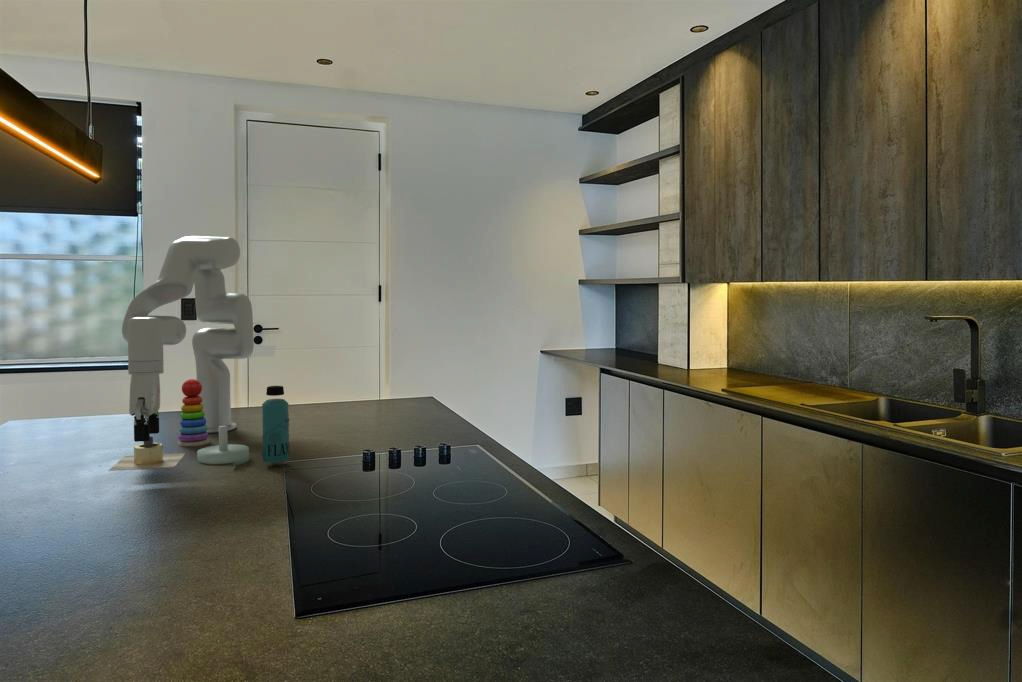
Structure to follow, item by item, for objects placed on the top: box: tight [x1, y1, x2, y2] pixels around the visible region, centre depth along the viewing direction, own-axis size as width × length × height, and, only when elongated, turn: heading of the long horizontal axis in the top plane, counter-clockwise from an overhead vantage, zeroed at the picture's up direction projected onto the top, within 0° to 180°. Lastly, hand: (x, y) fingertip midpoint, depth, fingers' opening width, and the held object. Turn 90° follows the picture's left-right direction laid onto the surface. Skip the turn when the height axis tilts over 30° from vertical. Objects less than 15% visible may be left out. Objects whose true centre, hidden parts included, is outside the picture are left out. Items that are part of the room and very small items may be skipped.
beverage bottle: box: [261, 385, 290, 464], centre depth 162 cm, size 6×7×20 cm
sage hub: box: [196, 426, 250, 467], centre depth 166 cm, size 12×12×9 cm
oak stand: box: [107, 436, 186, 472], centre depth 161 cm, size 14×14×7 cm
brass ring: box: [133, 442, 164, 465], centre depth 161 cm, size 6×6×4 cm
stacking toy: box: [177, 378, 210, 447], centre depth 181 cm, size 8×8×19 cm
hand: (147, 437), depth 160 cm, fingers open, 9 cm apart
